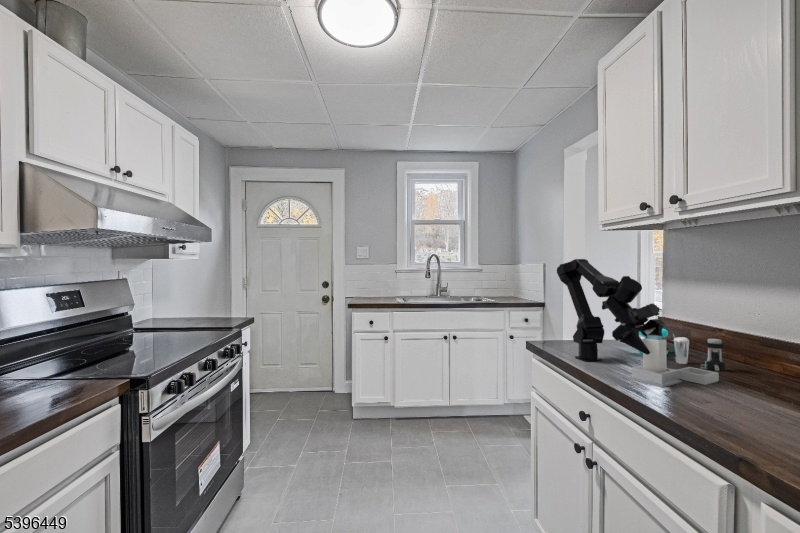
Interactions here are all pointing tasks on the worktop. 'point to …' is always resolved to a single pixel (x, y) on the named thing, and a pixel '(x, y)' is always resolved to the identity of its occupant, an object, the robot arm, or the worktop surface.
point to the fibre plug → (655, 354)
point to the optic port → (655, 376)
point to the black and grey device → (714, 355)
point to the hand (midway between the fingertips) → (658, 352)
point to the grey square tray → (698, 375)
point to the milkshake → (681, 349)
